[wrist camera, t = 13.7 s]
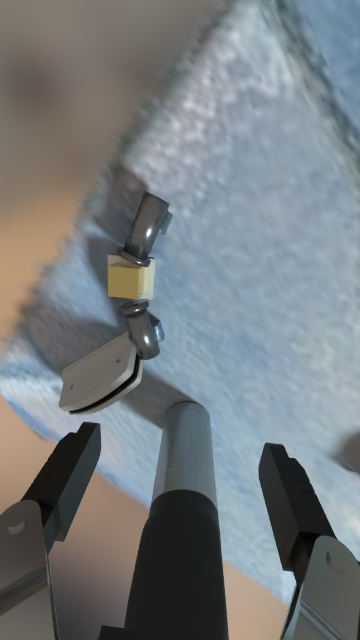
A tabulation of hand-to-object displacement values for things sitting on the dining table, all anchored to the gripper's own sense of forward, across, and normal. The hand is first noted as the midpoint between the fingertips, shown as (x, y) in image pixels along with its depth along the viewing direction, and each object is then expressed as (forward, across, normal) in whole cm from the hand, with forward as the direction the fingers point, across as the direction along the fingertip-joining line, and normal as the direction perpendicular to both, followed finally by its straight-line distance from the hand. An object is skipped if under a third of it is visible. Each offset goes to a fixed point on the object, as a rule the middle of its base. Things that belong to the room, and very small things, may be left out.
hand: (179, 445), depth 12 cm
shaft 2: (+30, +7, +6) cm, 31 cm away
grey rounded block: (+30, +14, +15) cm, 37 cm away
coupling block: (+30, +10, -2) cm, 31 cm away
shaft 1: (+30, +7, -10) cm, 32 cm away
